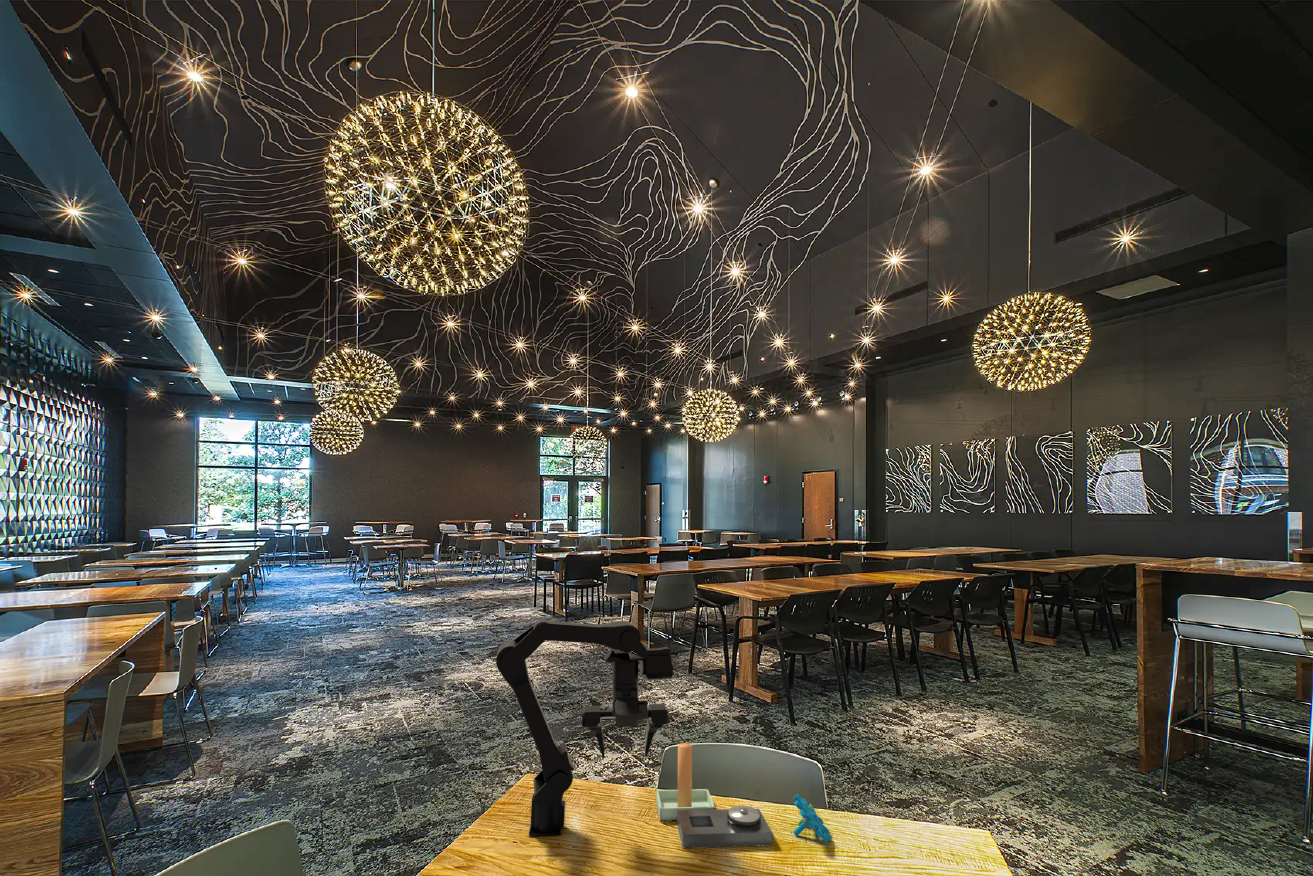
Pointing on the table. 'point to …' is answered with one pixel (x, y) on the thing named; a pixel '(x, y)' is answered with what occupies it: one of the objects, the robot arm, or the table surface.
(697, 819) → the plate
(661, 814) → the tray
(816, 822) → the gear
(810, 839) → the table surface
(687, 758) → the pin
